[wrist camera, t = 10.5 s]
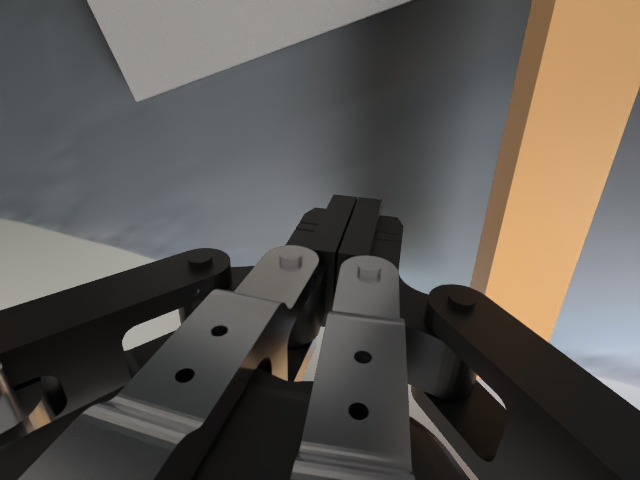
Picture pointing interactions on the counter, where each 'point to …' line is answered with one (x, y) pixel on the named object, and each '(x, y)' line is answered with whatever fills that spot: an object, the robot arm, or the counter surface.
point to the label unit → (212, 34)
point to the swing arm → (556, 152)
